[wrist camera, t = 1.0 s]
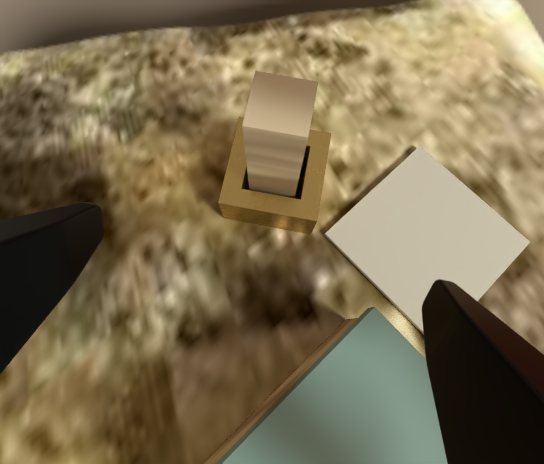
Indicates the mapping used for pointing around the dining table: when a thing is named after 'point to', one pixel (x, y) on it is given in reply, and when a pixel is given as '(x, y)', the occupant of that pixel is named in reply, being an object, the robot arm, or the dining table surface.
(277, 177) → the brown square block
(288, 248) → the dining table surface
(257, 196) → the frame
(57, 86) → the dining table surface
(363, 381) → the drawer
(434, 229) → the grey mat
